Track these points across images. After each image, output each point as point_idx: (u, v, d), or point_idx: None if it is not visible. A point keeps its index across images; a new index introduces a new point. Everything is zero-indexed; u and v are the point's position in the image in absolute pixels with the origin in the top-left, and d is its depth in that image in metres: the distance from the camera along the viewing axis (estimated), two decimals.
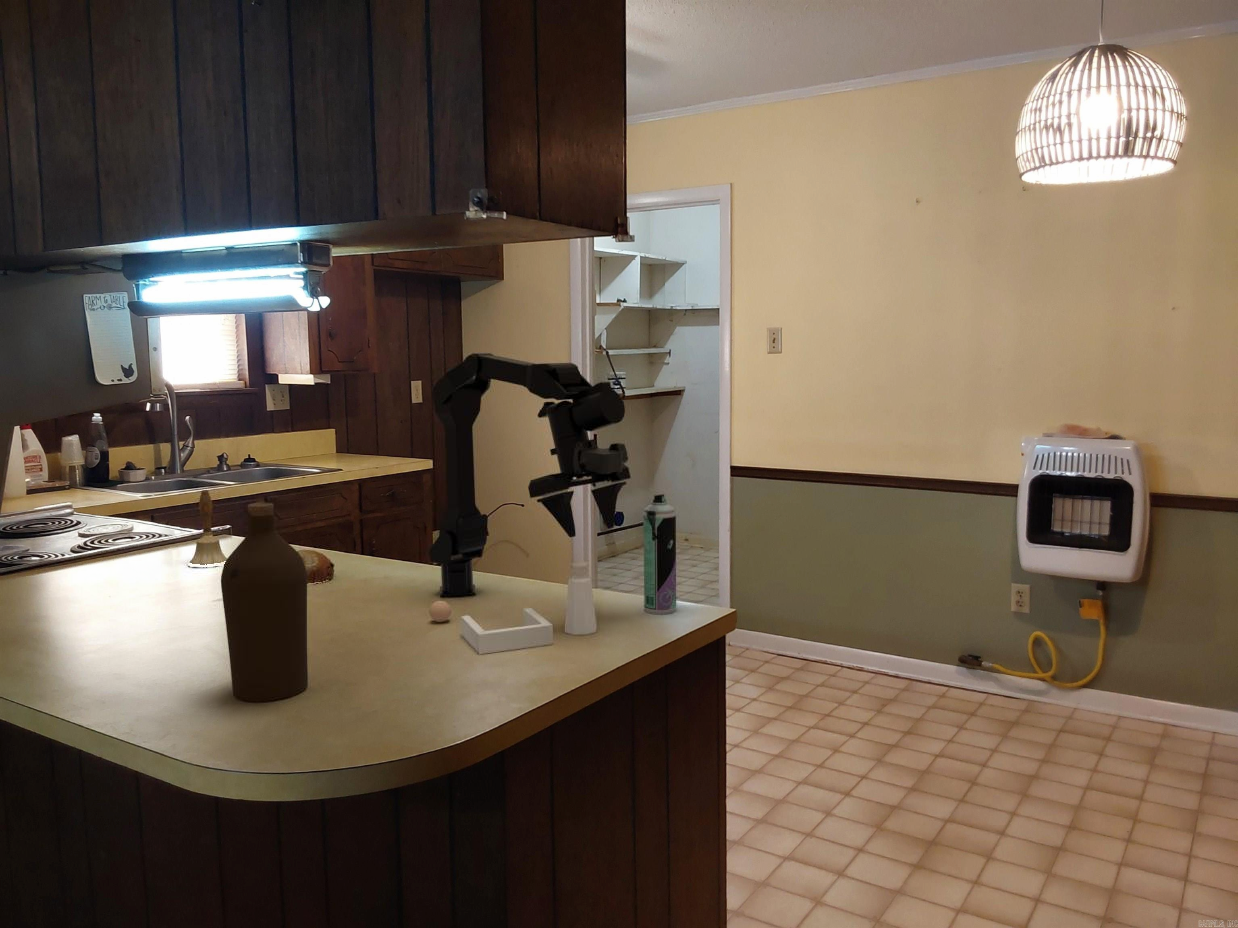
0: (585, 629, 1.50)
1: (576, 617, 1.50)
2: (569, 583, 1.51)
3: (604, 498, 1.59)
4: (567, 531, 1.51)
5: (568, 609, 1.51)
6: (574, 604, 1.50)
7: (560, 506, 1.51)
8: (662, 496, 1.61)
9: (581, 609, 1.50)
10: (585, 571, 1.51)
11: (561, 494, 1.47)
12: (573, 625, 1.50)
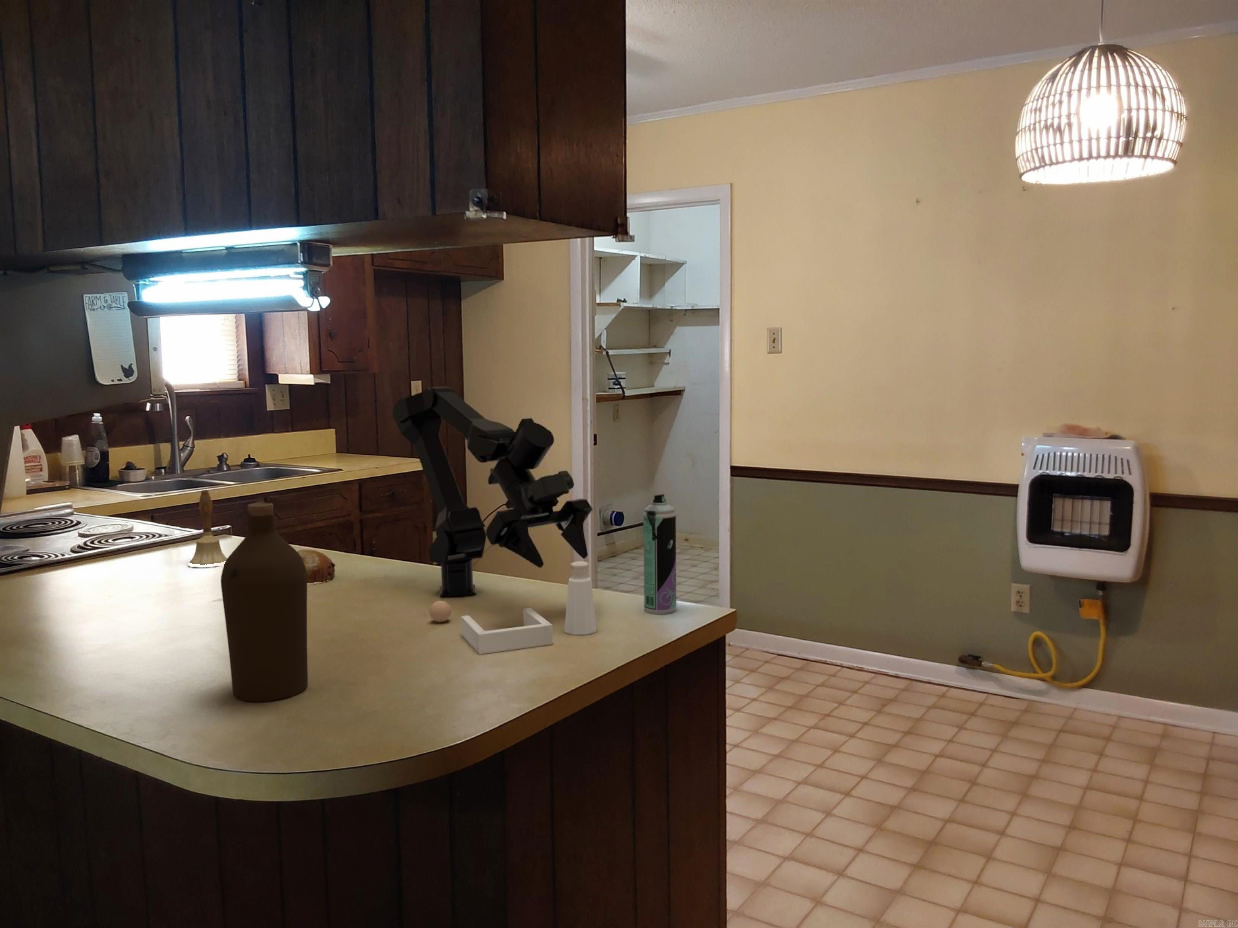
0: (585, 629, 1.50)
1: (576, 617, 1.50)
2: (569, 583, 1.51)
3: (572, 533, 1.60)
4: (535, 562, 1.52)
5: (568, 609, 1.51)
6: (574, 604, 1.50)
7: (521, 541, 1.53)
8: (662, 496, 1.61)
9: (581, 609, 1.50)
10: (585, 571, 1.51)
11: (513, 524, 1.50)
12: (573, 625, 1.50)
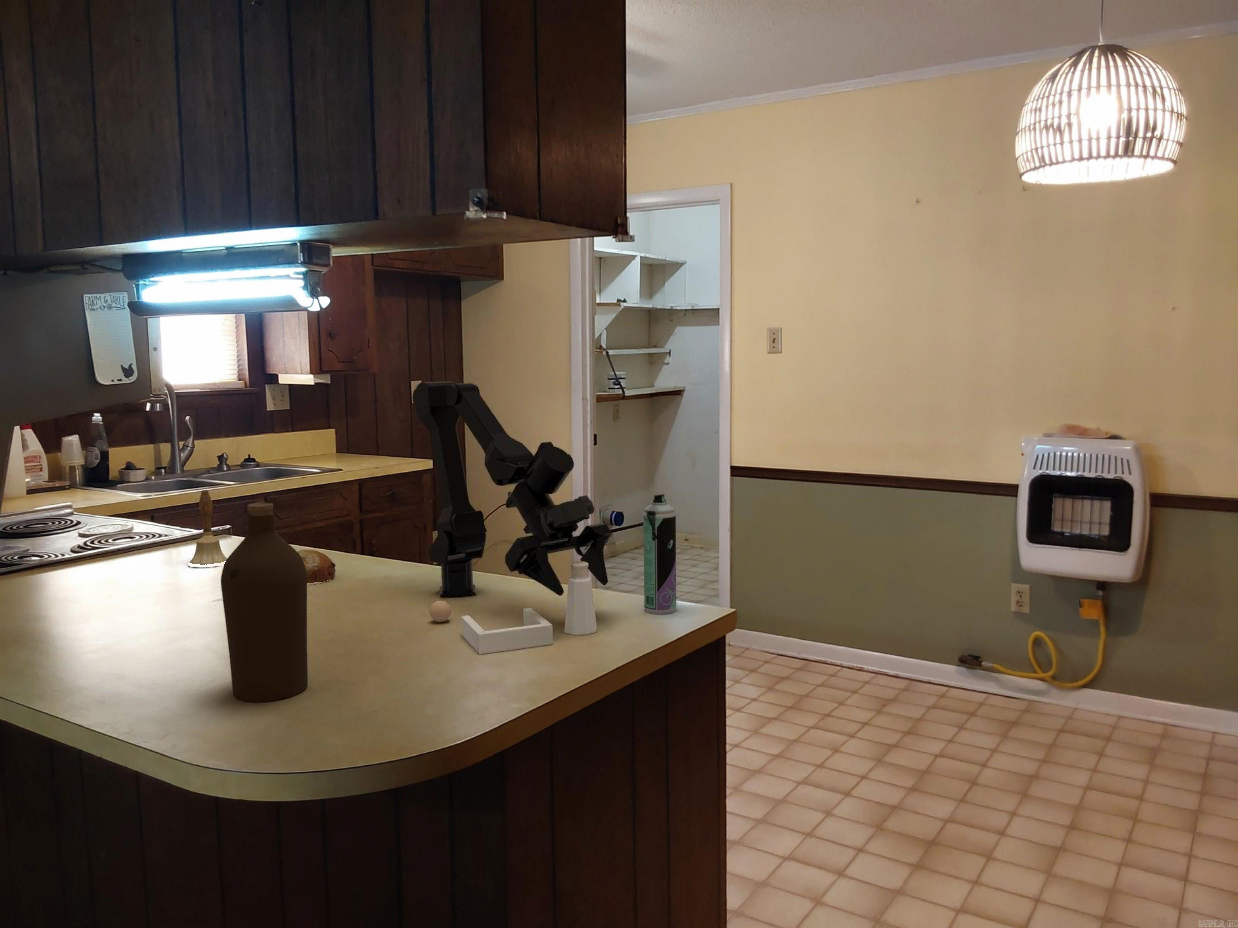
0: (585, 629, 1.50)
1: (576, 617, 1.50)
2: (569, 583, 1.51)
3: (591, 559, 1.57)
4: (555, 590, 1.49)
5: (568, 609, 1.51)
6: (574, 604, 1.50)
7: (541, 569, 1.50)
8: (662, 496, 1.61)
9: (581, 609, 1.50)
10: (585, 571, 1.51)
11: (533, 552, 1.47)
12: (573, 625, 1.50)
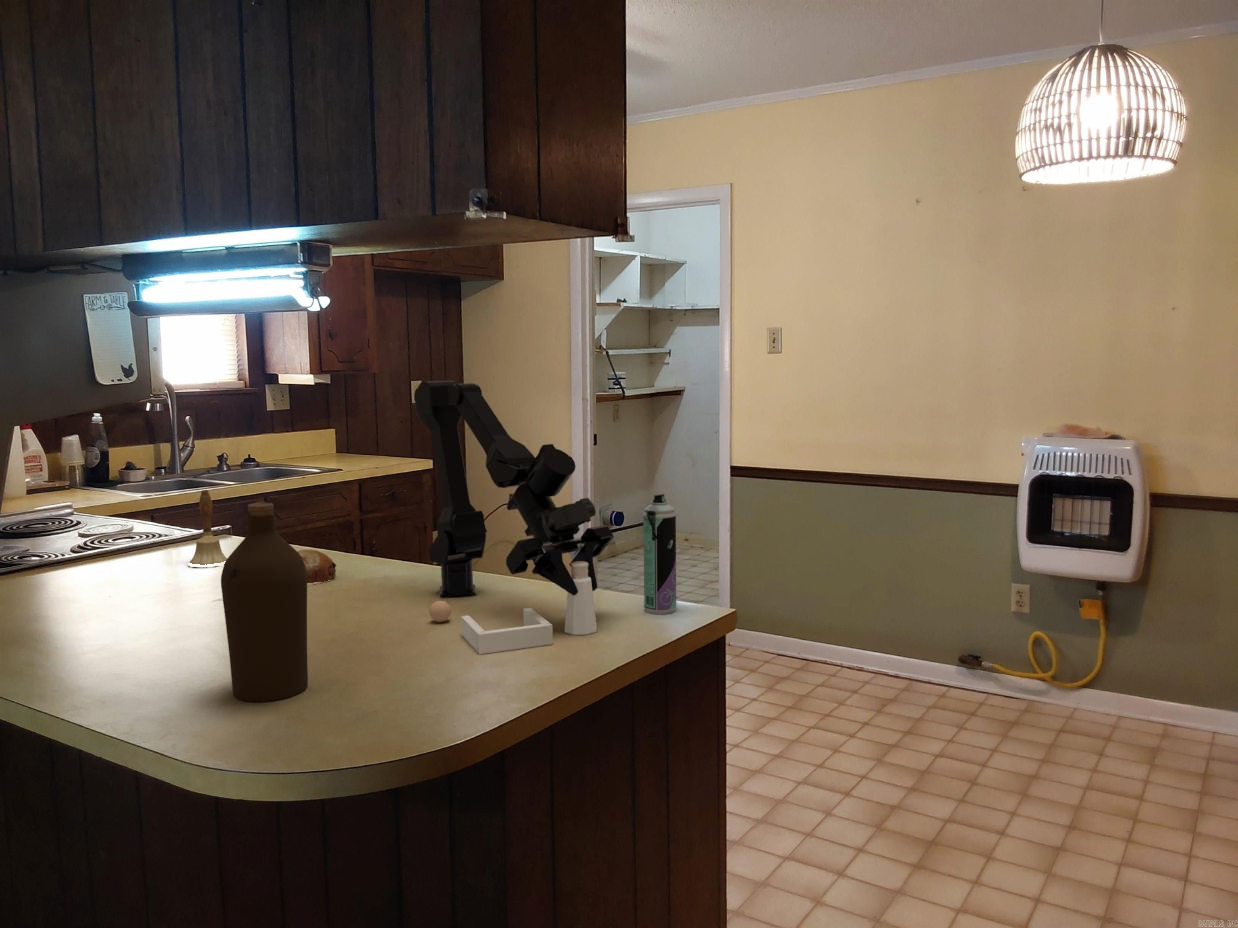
0: (585, 629, 1.50)
1: (576, 617, 1.50)
2: None
3: None
4: (569, 590, 1.50)
5: (568, 609, 1.51)
6: (574, 604, 1.50)
7: (555, 569, 1.51)
8: (662, 496, 1.61)
9: (581, 609, 1.50)
10: (585, 571, 1.51)
11: (548, 552, 1.49)
12: (573, 625, 1.50)
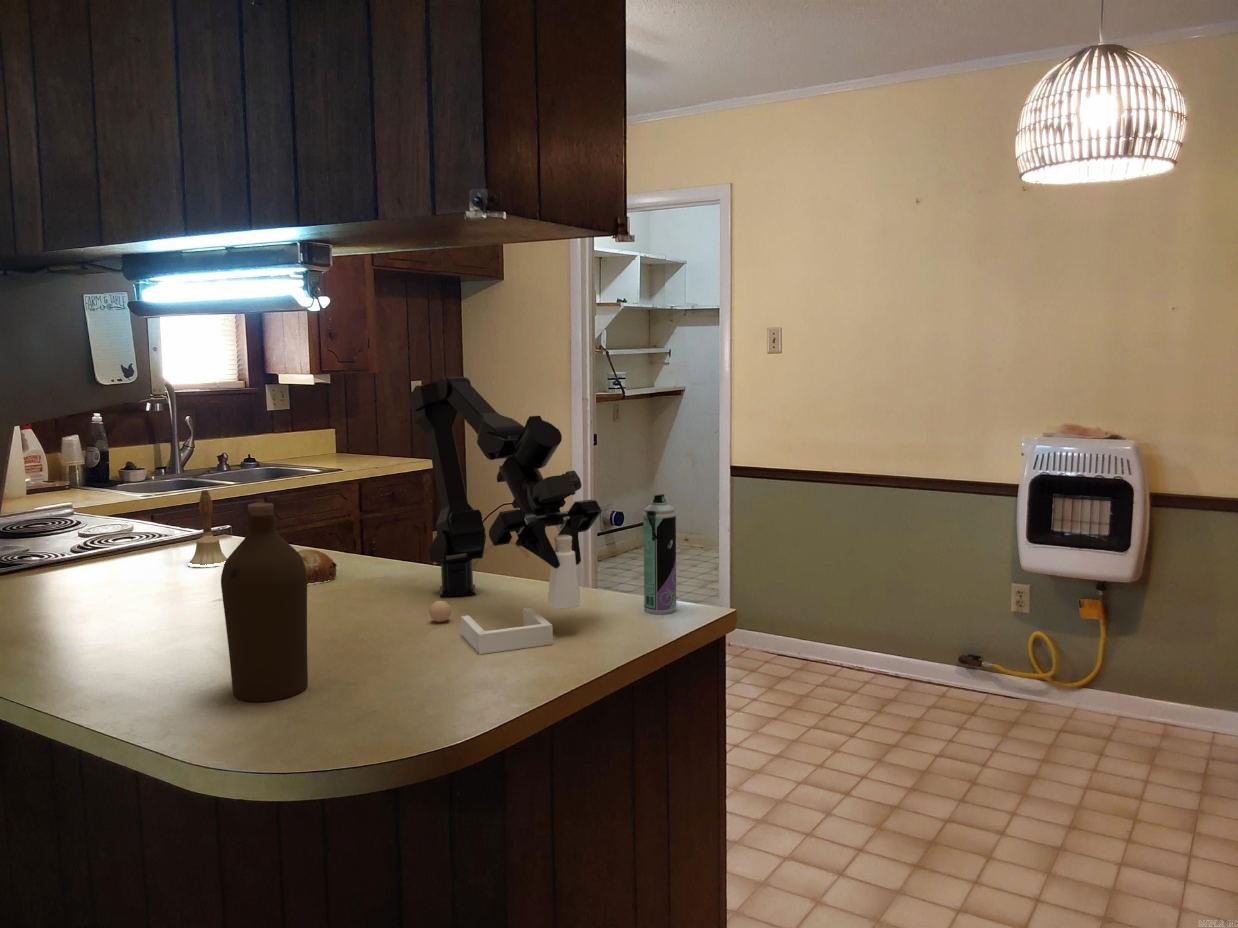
0: (567, 603, 1.49)
1: (558, 591, 1.49)
2: None
3: None
4: (551, 563, 1.49)
5: (551, 582, 1.50)
6: (556, 577, 1.49)
7: (538, 541, 1.50)
8: (662, 496, 1.61)
9: (563, 583, 1.49)
10: (568, 544, 1.49)
11: (530, 524, 1.48)
12: (555, 599, 1.49)
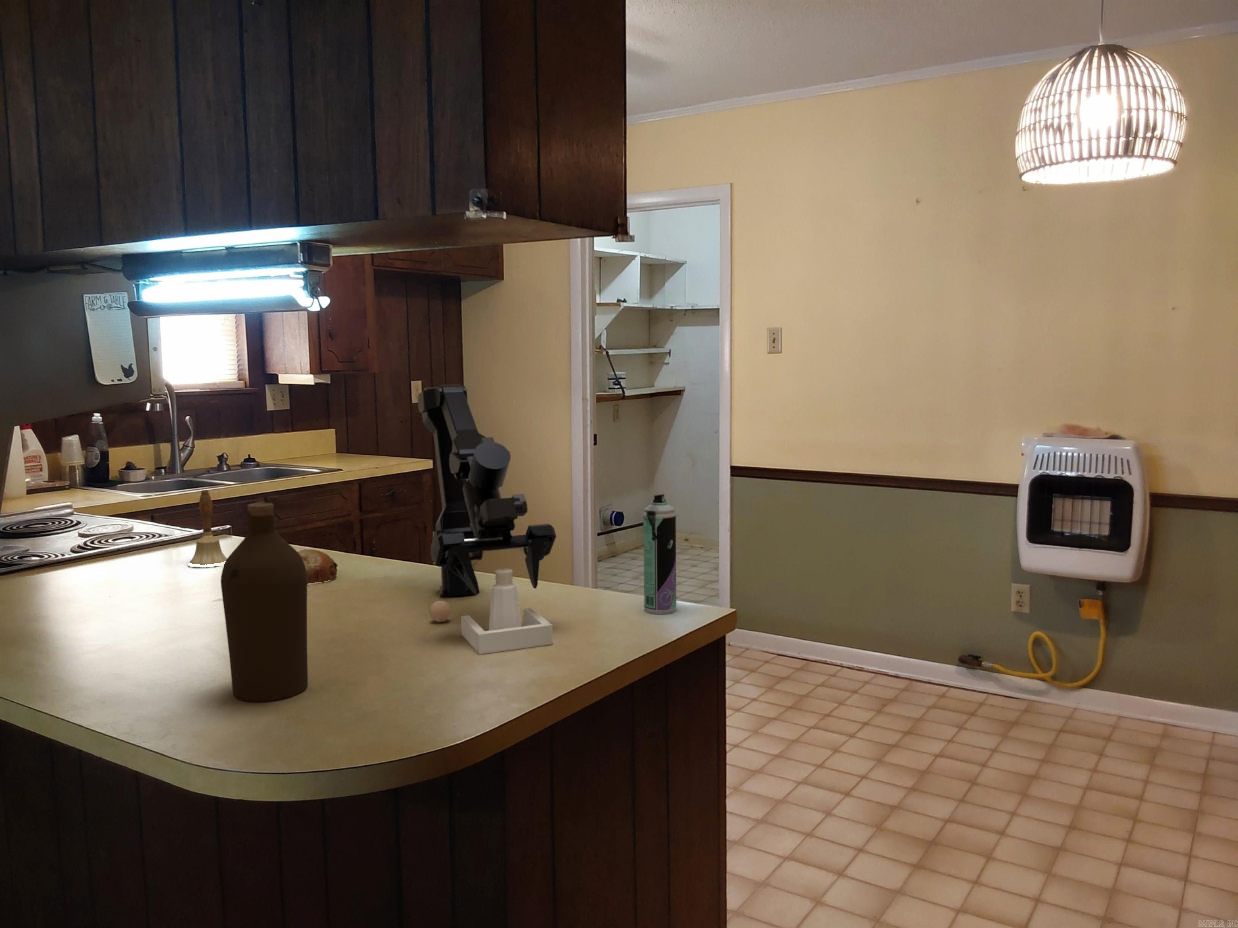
0: None
1: (495, 625, 1.47)
2: (492, 589, 1.48)
3: (529, 560, 1.52)
4: (472, 589, 1.46)
5: (490, 616, 1.48)
6: (494, 611, 1.47)
7: None
8: (662, 496, 1.61)
9: (500, 617, 1.46)
10: (507, 578, 1.47)
11: (451, 548, 1.46)
12: None
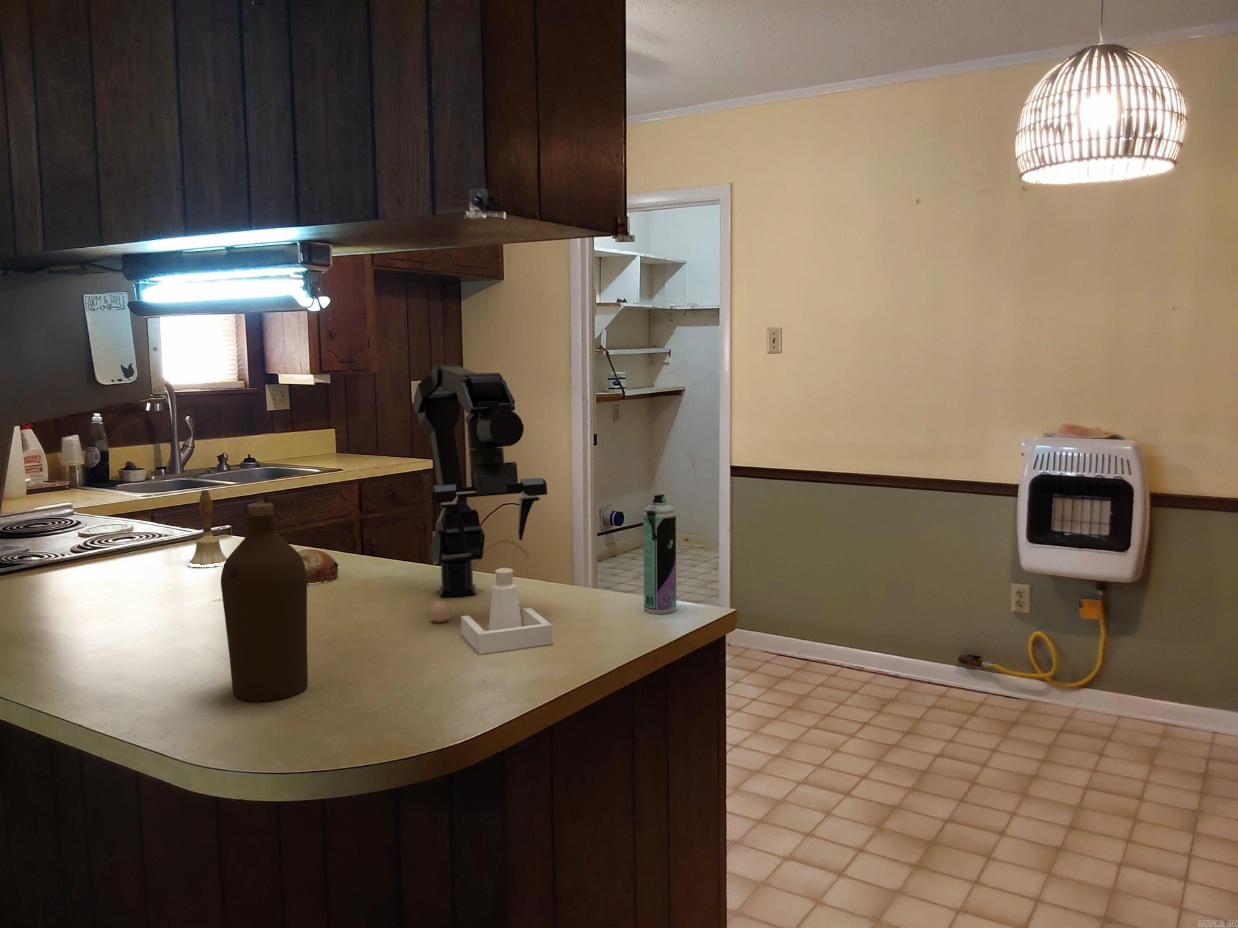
0: None
1: (495, 625, 1.47)
2: (492, 589, 1.48)
3: None
4: None
5: (490, 616, 1.48)
6: (494, 611, 1.47)
7: None
8: (662, 496, 1.61)
9: (500, 617, 1.46)
10: (507, 578, 1.47)
11: (442, 506, 1.55)
12: None
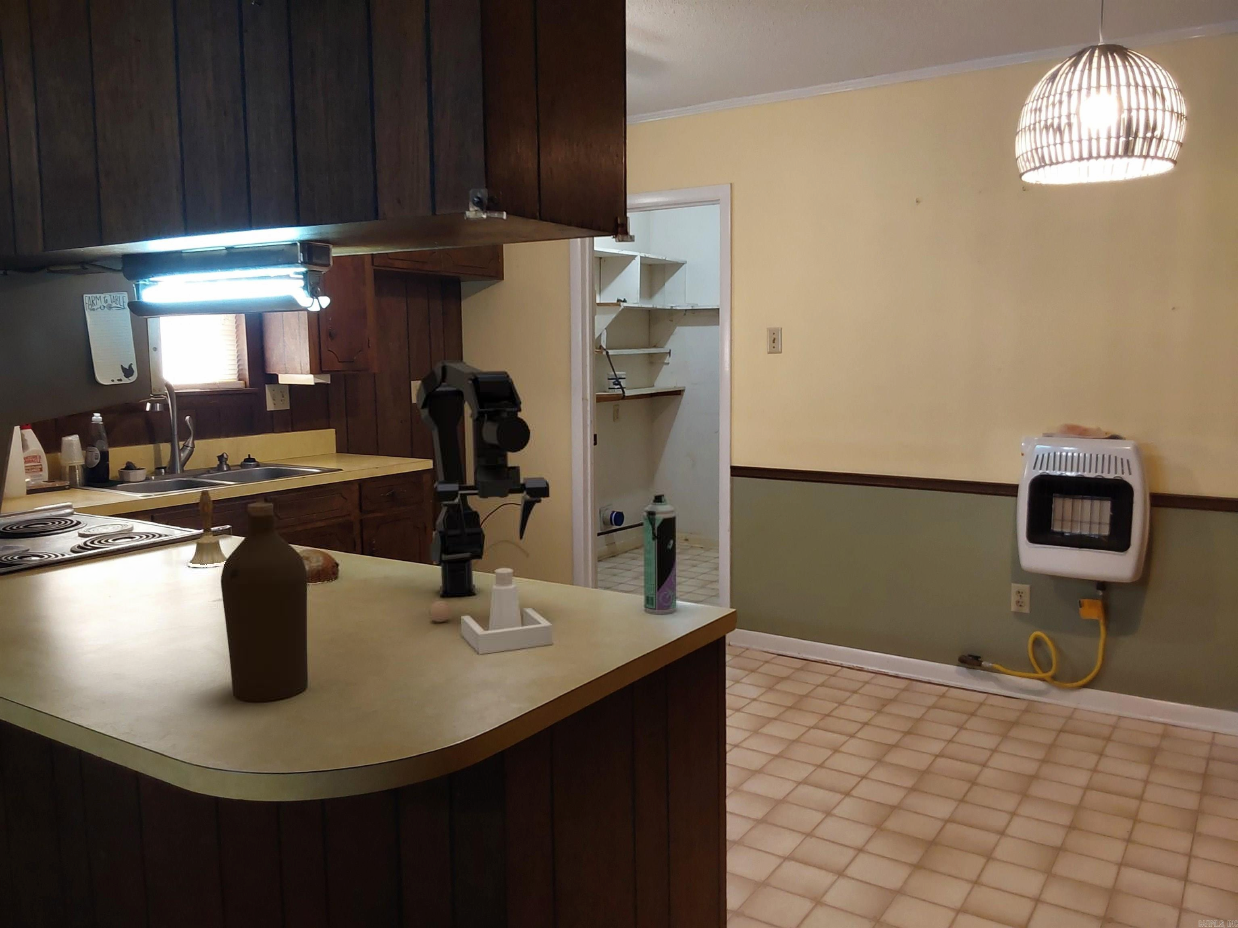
0: None
1: (495, 625, 1.47)
2: (492, 589, 1.48)
3: (521, 509, 1.60)
4: None
5: (490, 616, 1.48)
6: (494, 611, 1.47)
7: None
8: (662, 496, 1.61)
9: (500, 617, 1.46)
10: (507, 578, 1.47)
11: (444, 505, 1.55)
12: None
